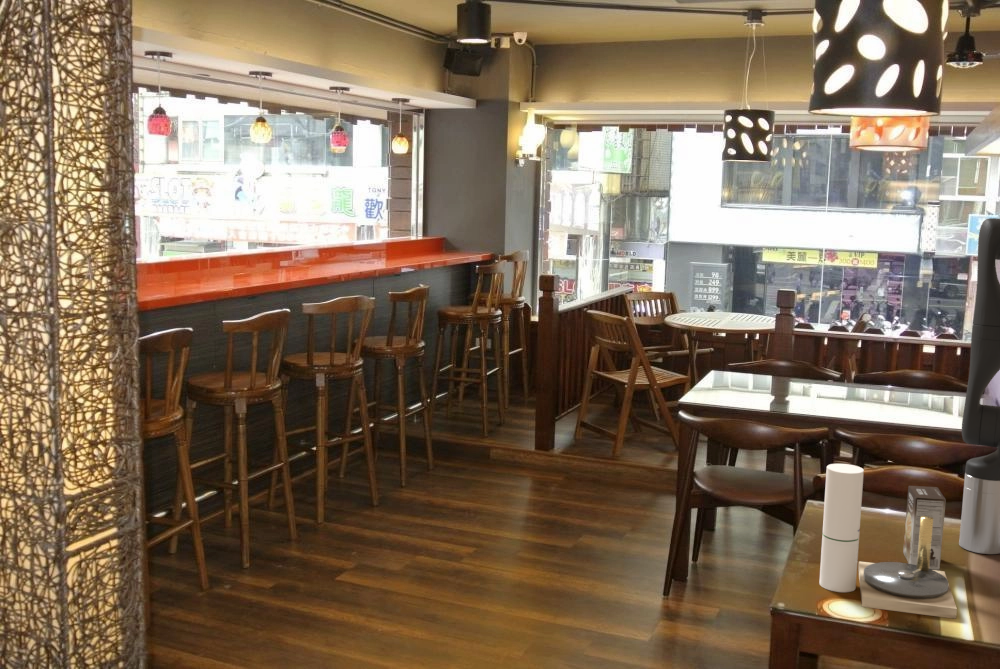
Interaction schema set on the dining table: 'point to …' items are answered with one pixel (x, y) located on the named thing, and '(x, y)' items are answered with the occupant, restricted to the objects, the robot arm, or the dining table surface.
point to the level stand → (906, 599)
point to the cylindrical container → (841, 527)
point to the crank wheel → (910, 571)
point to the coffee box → (918, 505)
